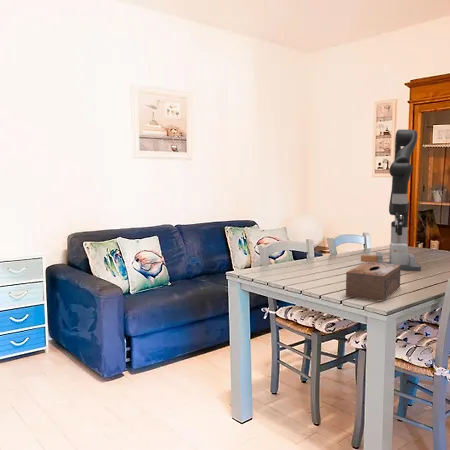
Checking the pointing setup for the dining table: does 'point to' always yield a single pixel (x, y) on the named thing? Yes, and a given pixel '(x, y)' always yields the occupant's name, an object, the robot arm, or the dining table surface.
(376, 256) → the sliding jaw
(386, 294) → the tissue box cover
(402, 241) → the robot arm
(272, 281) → the dining table surface
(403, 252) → the small box
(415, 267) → the vise
